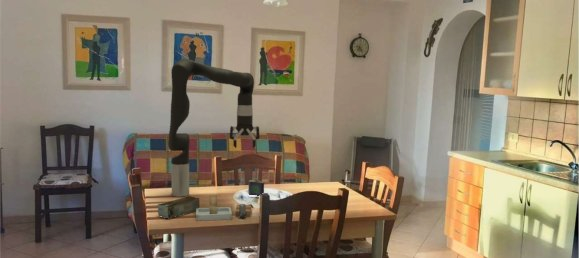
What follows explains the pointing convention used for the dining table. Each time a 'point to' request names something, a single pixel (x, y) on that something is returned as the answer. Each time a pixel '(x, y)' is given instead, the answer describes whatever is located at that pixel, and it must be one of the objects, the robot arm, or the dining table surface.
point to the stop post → (242, 211)
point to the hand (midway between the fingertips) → (244, 147)
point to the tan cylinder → (213, 203)
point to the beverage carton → (178, 207)
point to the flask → (255, 187)
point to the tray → (222, 214)
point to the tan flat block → (248, 211)
